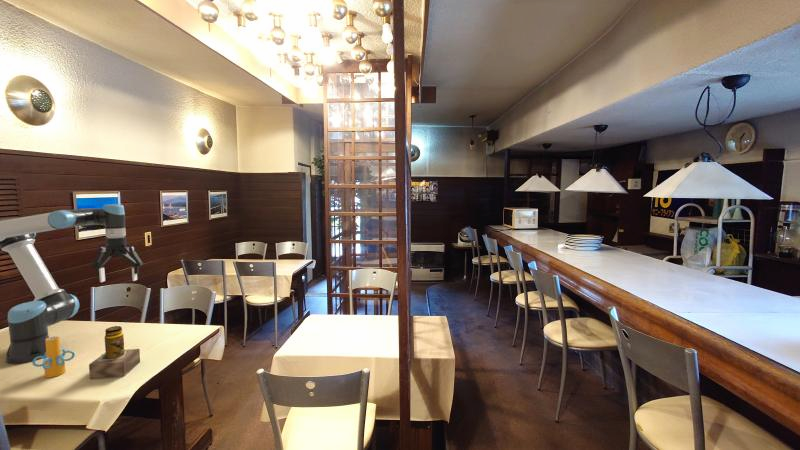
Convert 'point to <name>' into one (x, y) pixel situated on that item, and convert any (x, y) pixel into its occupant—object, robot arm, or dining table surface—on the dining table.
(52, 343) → the cylinder
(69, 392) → the dining table surface
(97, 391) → the dining table surface
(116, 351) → the condiment
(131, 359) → the riser
